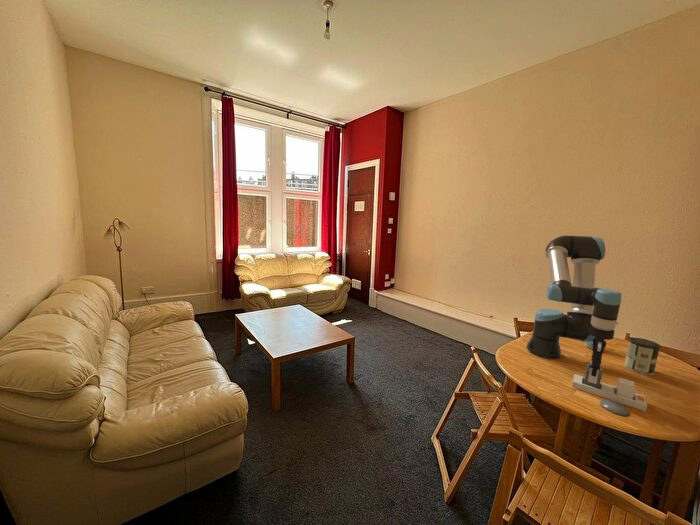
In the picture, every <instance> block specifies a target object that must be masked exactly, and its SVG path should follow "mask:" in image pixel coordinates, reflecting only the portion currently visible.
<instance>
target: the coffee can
mask: <svg viewBox="0 0 700 525" xmlns="http://www.w3.org/2000/svg"><path fill="white" fill-rule="evenodd" d="M628 340H629V341H628V345H627V346H628V347H627V351H626V355H625V361H624V363H623V364H624V365H623V366H624V367H625V368H626V369H628V370H630V371H631V372H632V371H633V372H635V373H637V374H641V375H648V376H652V375H655V370H656V365H657V361H658V356H659V351H660V349H661V345H660V344H659V343H658V342H655V341H652V340H650V339H646V338H641V337H629V338H628Z"/></svg>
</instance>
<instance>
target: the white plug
mask: <svg viewBox="0 0 700 525" xmlns="http://www.w3.org/2000/svg"><path fill="white" fill-rule="evenodd" d="M616 387H617V390H616V393H617V395H619V396H622V397H626V398H629V399H632V400H633V395H634V393H635V389H636V383H635V381H632V380H629V379H625V378H622V377H618V382H617V386H616Z"/></svg>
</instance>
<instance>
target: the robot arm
mask: <svg viewBox="0 0 700 525" xmlns="http://www.w3.org/2000/svg"><path fill="white" fill-rule="evenodd" d="M605 255H606V244H605V242H604V240H603V239H602V238H601V237H598V236H591V235H590V236H585V235H581V236H580V235H567V234H566V235H565V234H564V235H561V236H558V237H555V238H553V239H552V240H550V242H549V243H548V244H547V246H546V247H545V257H546V258H547V259H548V265H549V266H548V267H549V274H550V281H551V283H549V284H548V286H547V289H546V298H547V299H548V300H549V301H555V302H558V303H559V302H560V303H568V304H571V305H570V306H571V308H570V309H569V310H567V312H566V314H564V312H563V311H562V310H559V309H554V308H553V309H552V308H541V309H538V310H537V311H536V312H535V316H534V319H533V320H534V322H533V328H532V329H533V330H532V336H531V337H530V338H529V340H528V342H527V344H526V350H527V349H528V350H529V351H530V352H531V354H532V353H533V354H532V355H534V354H535V356H536V355H537V357H540V358H544V359H549V360H558V359H560V358H561V357H562V356H561V355H562V350H561V345H560V338H565V339H570V340H577V341H581V342H586V341H587V342H593V349H592V355H591V359H590V363H592V365H591V366H590V365H589V367H590V372H589V377H588V382H591V383H594V384H596V383H597V378H598V373H599V370H600V366H601V364H602V358H603V354H604V353H605V349H606V346H607V341H610V340H613V339H614V338H615V337H614V336H615V331H616V330H615V329H616V325H619V322H618V321H617V320H618V316H619V311H620V308H621V303H622V293H621V292H620V291H618V290H614V289H609V288H600V287H596V286H595V280H596V266H597V265H598V264H600V262H601V261H602V260H604V259H605ZM568 258H570V262H571V263H572V264H573V276H572V277H573V278H571V273H570V269H569V264H568ZM528 350H527V351H528ZM529 351H528V352H529ZM530 352H529V353H530Z"/></svg>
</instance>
